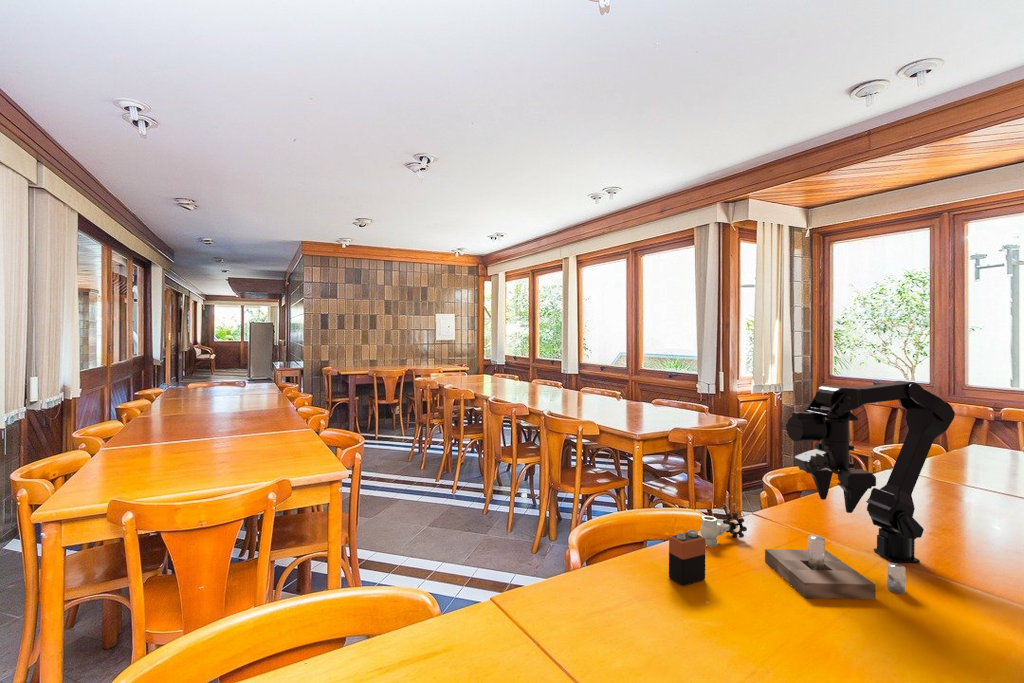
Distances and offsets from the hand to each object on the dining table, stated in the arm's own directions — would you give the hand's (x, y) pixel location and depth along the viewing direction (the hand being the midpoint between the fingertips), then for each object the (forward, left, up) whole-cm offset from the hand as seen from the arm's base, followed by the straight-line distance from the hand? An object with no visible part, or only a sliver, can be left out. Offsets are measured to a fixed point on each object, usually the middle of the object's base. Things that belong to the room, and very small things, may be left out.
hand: (835, 505), depth 116 cm
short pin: (-4, +14, -13) cm, 19 cm away
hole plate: (+10, +10, -13) cm, 19 cm away
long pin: (+10, +10, -13) cm, 19 cm away
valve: (+23, -9, -13) cm, 28 cm away
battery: (+38, +11, -13) cm, 42 cm away
